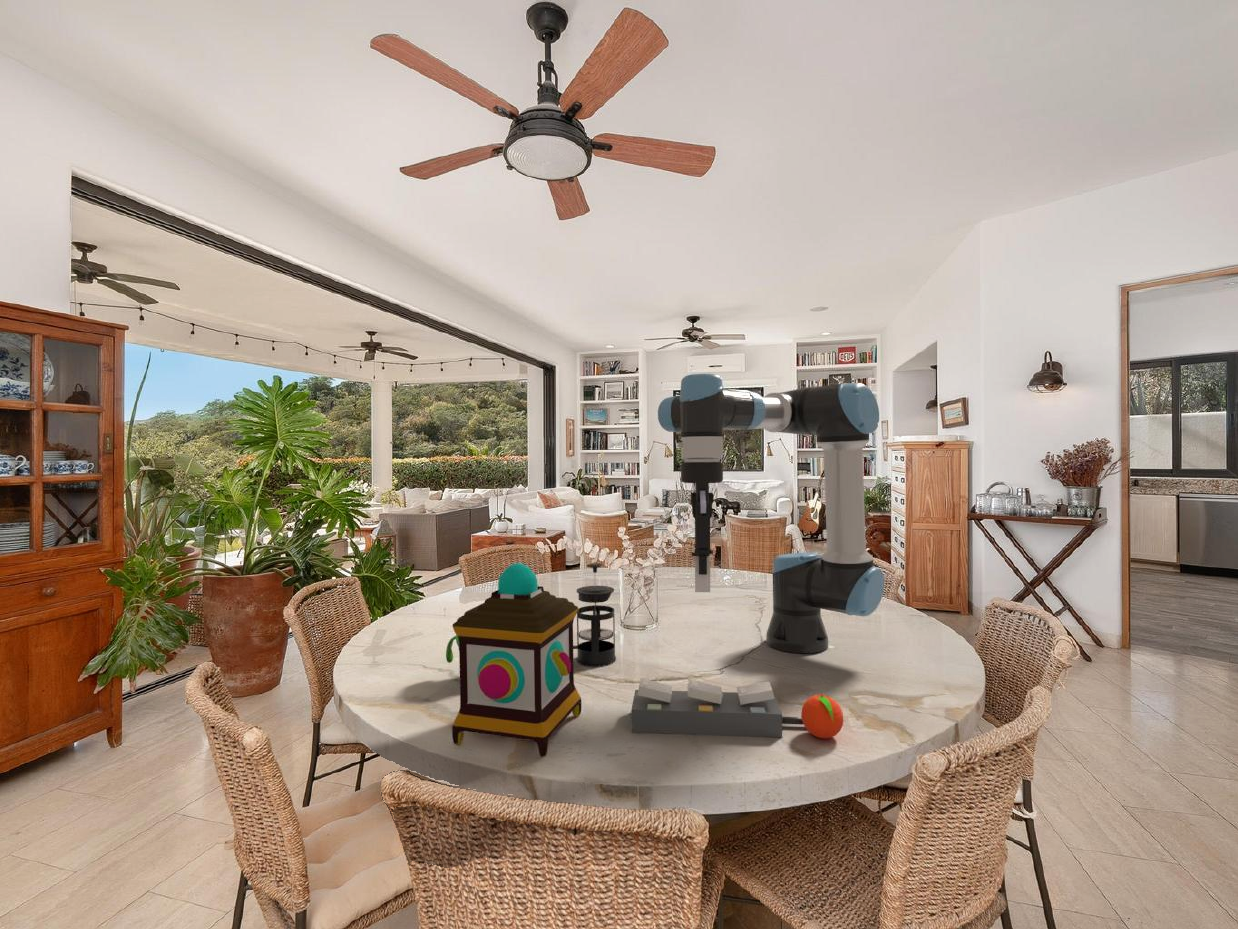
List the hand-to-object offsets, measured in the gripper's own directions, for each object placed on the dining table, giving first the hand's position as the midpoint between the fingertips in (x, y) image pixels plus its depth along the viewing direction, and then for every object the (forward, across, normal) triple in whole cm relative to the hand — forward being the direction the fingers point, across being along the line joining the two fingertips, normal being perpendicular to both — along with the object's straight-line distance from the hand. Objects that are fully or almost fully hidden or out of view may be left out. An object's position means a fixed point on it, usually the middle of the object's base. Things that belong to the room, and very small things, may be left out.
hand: (702, 591), depth 109 cm
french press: (+24, -32, -25) cm, 47 cm away
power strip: (+24, 0, +3) cm, 24 cm away
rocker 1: (+18, 0, -9) cm, 20 cm away
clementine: (+24, +4, +20) cm, 32 cm away
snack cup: (+25, -18, -48) cm, 57 cm away
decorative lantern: (+25, +5, -33) cm, 41 cm away
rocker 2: (+18, 0, 0) cm, 18 cm away
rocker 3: (+18, 0, +9) cm, 21 cm away
